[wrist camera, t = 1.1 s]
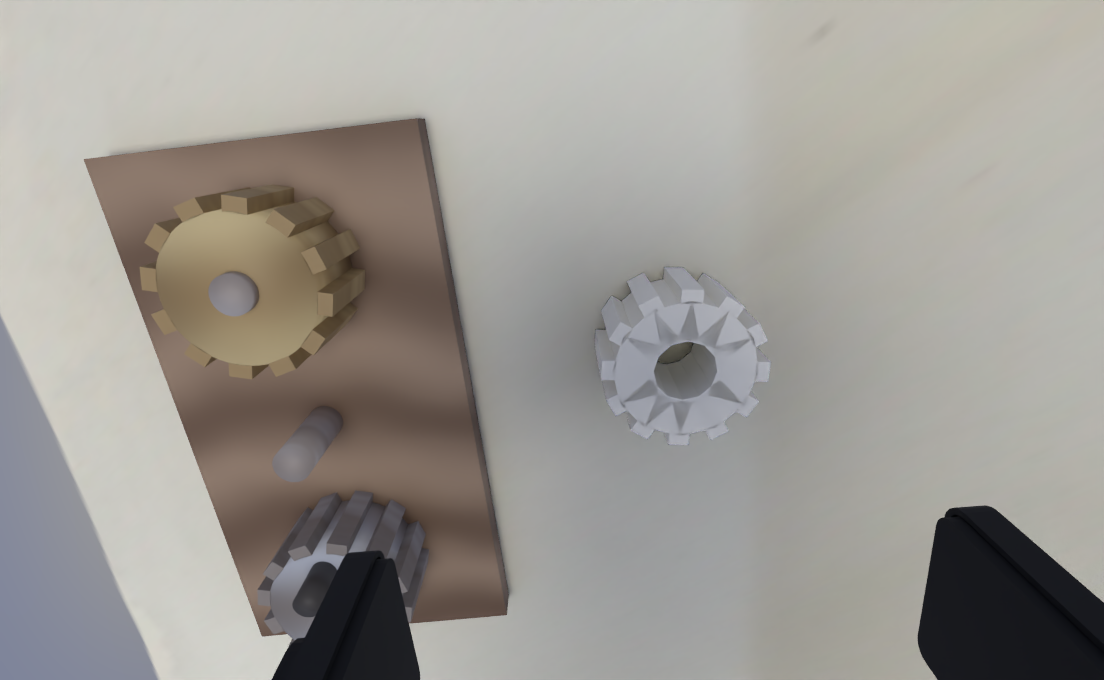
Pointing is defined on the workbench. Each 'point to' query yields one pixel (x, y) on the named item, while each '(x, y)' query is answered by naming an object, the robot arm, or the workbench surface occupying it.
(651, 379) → the gear
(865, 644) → the workbench surface
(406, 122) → the gear board
